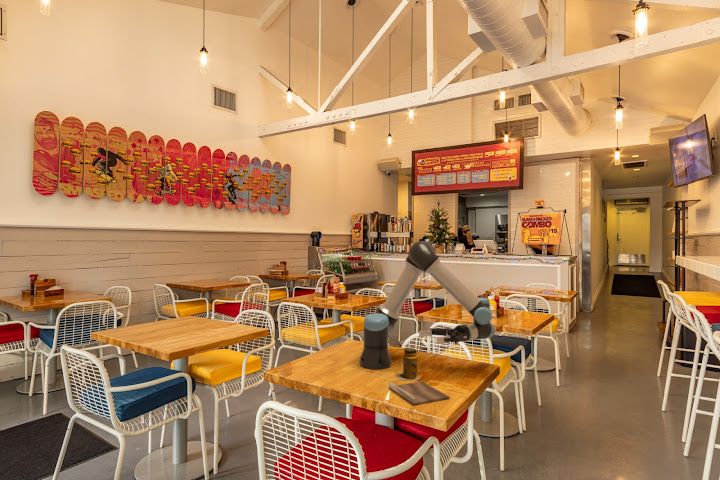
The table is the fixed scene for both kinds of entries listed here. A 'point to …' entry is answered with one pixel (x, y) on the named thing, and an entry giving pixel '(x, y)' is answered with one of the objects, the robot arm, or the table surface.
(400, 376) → the condiment
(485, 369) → the table surface
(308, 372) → the table surface
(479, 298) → the robot arm
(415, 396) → the dock board
